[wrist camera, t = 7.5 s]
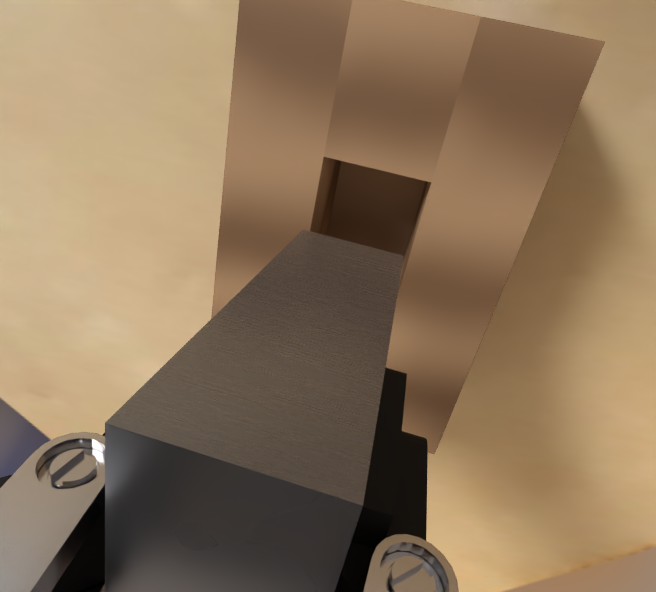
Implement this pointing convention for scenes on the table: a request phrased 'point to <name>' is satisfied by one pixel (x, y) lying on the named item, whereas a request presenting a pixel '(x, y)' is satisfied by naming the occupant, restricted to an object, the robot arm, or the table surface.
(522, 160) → the tan slotted block
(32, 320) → the table surface
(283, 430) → the grey rectangular block
